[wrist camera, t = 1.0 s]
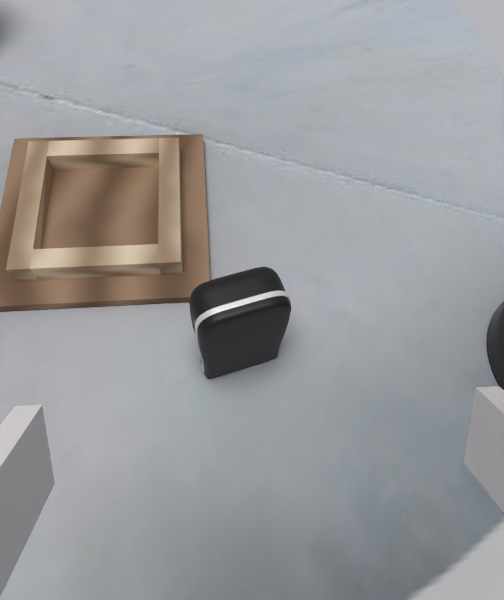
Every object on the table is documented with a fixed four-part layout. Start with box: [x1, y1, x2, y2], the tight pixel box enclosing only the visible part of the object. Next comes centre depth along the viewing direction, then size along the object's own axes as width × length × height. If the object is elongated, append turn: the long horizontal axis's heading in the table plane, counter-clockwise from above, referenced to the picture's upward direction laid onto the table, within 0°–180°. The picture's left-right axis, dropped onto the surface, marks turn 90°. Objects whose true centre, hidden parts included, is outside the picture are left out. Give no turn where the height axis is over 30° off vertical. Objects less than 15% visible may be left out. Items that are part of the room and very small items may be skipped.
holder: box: [0, 134, 210, 312], centre depth 46 cm, size 20×20×3 cm
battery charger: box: [190, 267, 291, 378], centre depth 37 cm, size 7×4×11 cm, turn 109°
